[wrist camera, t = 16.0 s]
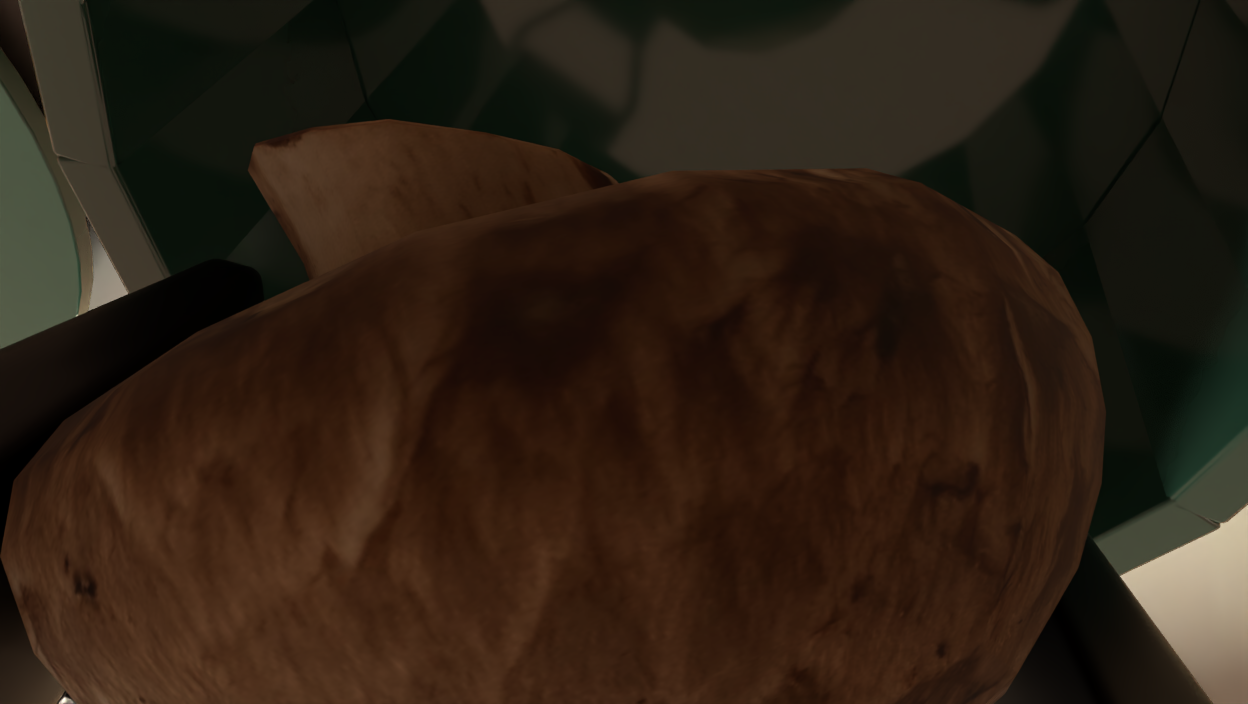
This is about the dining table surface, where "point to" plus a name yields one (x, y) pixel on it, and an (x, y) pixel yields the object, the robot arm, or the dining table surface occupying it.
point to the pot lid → (36, 222)
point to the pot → (743, 152)
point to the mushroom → (578, 447)
